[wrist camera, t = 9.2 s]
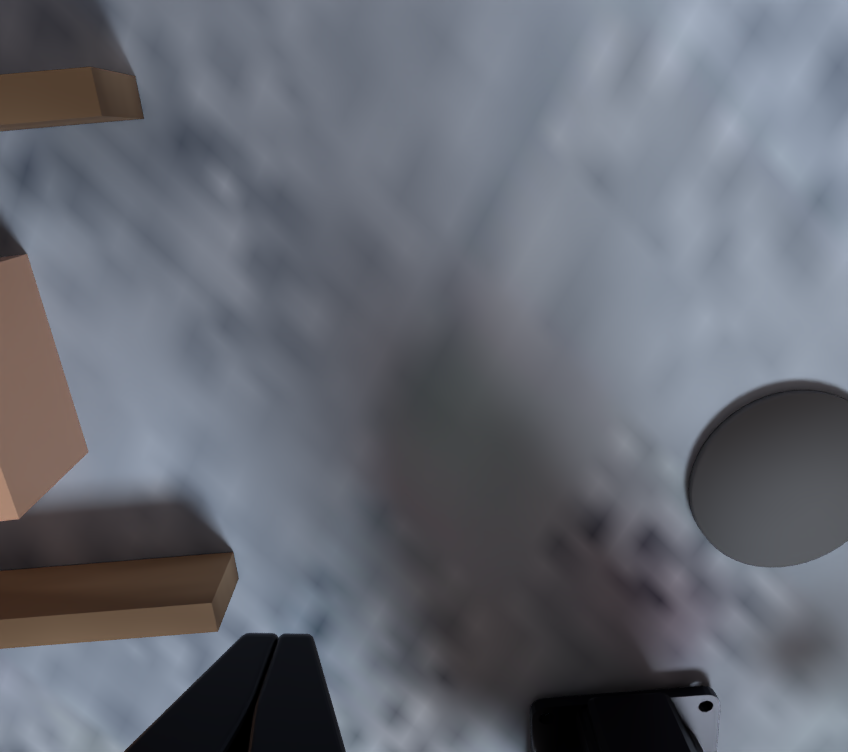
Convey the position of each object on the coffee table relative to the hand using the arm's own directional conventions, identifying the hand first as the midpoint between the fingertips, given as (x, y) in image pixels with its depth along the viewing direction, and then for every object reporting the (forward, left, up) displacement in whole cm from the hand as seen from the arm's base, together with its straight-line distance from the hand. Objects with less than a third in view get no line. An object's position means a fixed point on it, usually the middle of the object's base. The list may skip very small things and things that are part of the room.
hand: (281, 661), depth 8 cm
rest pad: (-5, -13, -12) cm, 18 cm away
